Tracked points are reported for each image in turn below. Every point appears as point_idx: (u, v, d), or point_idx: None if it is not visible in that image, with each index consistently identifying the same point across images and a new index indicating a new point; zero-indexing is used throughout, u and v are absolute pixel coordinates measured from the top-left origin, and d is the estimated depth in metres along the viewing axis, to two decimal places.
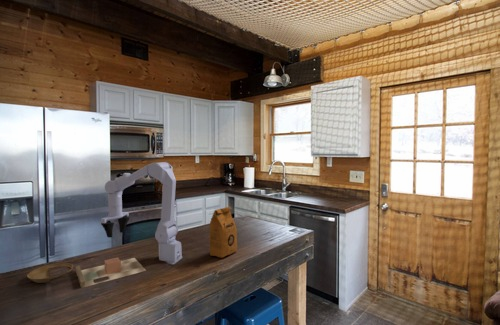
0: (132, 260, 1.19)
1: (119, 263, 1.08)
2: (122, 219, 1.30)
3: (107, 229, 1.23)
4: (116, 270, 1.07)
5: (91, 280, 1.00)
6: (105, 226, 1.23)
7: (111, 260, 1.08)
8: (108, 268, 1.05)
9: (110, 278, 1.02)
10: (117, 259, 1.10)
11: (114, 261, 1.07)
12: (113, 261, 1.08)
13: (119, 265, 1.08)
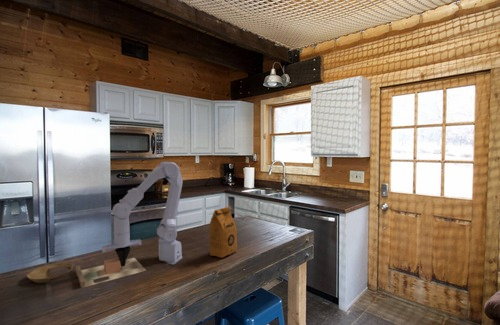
0: (132, 260, 1.19)
1: (118, 263, 1.08)
2: None
3: None
4: (115, 270, 1.07)
5: (91, 280, 1.00)
6: None
7: (110, 260, 1.08)
8: (108, 268, 1.05)
9: (110, 278, 1.02)
10: (116, 259, 1.10)
11: (114, 261, 1.07)
12: (112, 261, 1.08)
13: (118, 265, 1.08)
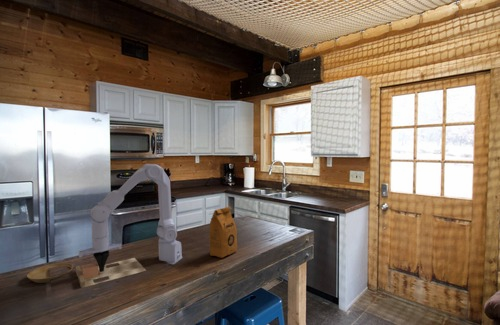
0: (132, 260, 1.19)
1: (96, 268, 1.03)
2: (101, 254, 1.06)
3: None
4: (93, 276, 1.02)
5: (91, 280, 1.00)
6: None
7: (88, 265, 1.04)
8: (85, 274, 1.01)
9: (110, 278, 1.02)
10: (95, 264, 1.05)
11: (91, 267, 1.02)
12: (90, 266, 1.03)
13: (96, 270, 1.03)
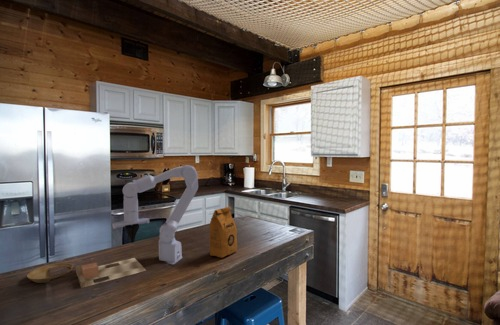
0: (132, 260, 1.19)
1: (96, 268, 1.03)
2: (132, 227, 1.16)
3: (129, 233, 1.16)
4: (93, 276, 1.02)
5: (91, 280, 1.00)
6: None
7: (88, 265, 1.04)
8: (85, 274, 1.01)
9: (110, 278, 1.02)
10: (95, 264, 1.05)
11: (91, 267, 1.02)
12: (90, 266, 1.03)
13: (96, 270, 1.03)
